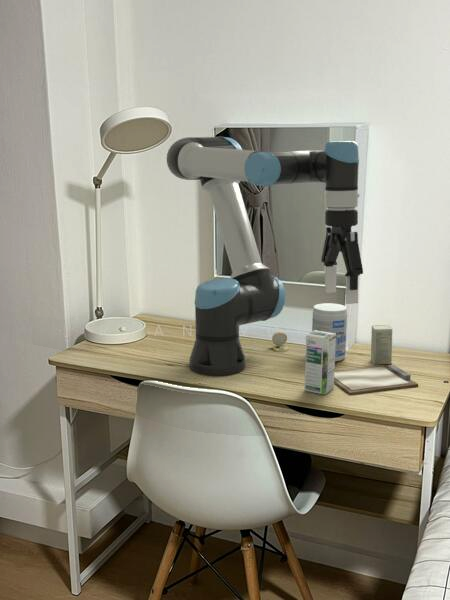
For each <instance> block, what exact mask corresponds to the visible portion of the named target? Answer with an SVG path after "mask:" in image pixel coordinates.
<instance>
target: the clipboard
mask: <svg viewBox="0 0 450 600" xmlns="http://www.w3.org/2000/svg"><path fill="white" fill-rule="evenodd" d="M411 375H412V374H410V373H408V372H406V371H404V370H403V368H400V367H398V366H397V365H395V364H392V365H390V364H384V365H378V366H368V367H359V368H358V367H357V368H353V369H352V368H351V369H343V370H342V369H341V370H335V371H334V385H336V386H337V387H339V389H341V390H342V391H344V392H345V393H347V394H348V395H349V396H351V395H352V396H353V395H361V394H369V393H376V392H382V391H383V392H384V391H393V390H400V389H409V388H416V387H419V383H418V382H416V381H414V380H412V379H411Z"/></svg>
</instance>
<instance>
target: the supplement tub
mask: <svg viewBox="0 0 450 600" xmlns="http://www.w3.org/2000/svg"><path fill="white" fill-rule="evenodd" d="M347 322H348V309H347V306H346V305H344V304H340V303H332V302H331V303H329V302H328V303H327V302H326V303H324V302H322V303H318V304H317V303H316V304H315V305H314V306H313V309H312V322H311V323H312V325H311V326H312V327H311V332H312V331H314V330H318V331H323V332H329V333H336V346H335V362H339V361H342V360H344V359H345V357H346V350H347V349H346V347H347V346H346V345H347V343H346V341H347V329H348V327H347V326H348V323H347Z"/></svg>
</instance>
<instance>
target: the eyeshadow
mask: <svg viewBox="0 0 450 600" xmlns="http://www.w3.org/2000/svg"><path fill="white" fill-rule="evenodd" d="M271 337H272V338H271V340H272V343H273V344H274V345H275V346H274V345H273V351H274V352H277V353H285V352H288V351H289V347H288V346H287V345H285V344H286V343H287V341H288V337H287V334H286V332H283V331H276V332H274V334H273V335H272V336H271Z"/></svg>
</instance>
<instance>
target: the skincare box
mask: <svg viewBox="0 0 450 600" xmlns="http://www.w3.org/2000/svg"><path fill="white" fill-rule="evenodd" d="M370 341H371V347H370V348H371V350H370V361H371V363H372V364H373V365H390V364H392V361H393V360H392V358H393V357H392V355H393V354H392V352H393V351H392V350H393V328H392V326H390V324H380V325H378V324H377V325H375V324H373V325H371V340H370Z"/></svg>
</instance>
